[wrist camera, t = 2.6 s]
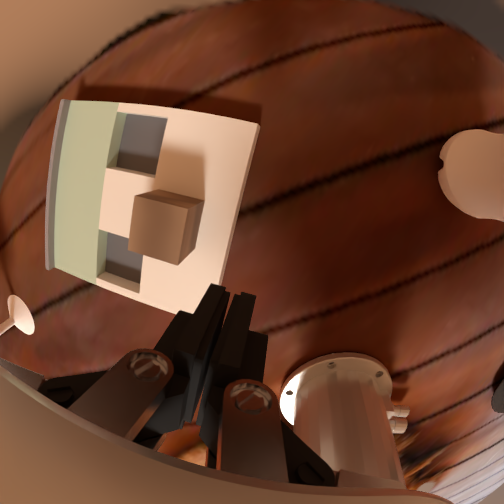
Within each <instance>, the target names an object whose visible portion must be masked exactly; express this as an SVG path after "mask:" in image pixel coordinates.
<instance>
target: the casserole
mask: <svg viewBox="0 0 504 504" xmlns="http://www.w3.org/2000/svg"><path fill="white" fill-rule="evenodd" d="M491 404H492V408H493V410H494V411H495V412H498V413H504V379H503V380H502V381H501V383H500V384H499V385H498V387H497V388H496V390H495V392H494V394H493V396H492V401H491Z"/></svg>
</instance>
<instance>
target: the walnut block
mask: <svg viewBox="0 0 504 504" xmlns="http://www.w3.org/2000/svg"><path fill="white" fill-rule="evenodd" d="M204 203H205V200H201V199H197V198H193V197H189V196H185V195H181V194H177V193H172V192H168V191H164V190H160V189H157V190H153V191H150V192H146V193H142V194H138V195H135V196H134V203H133V209H132V217H131V225H130V233H129V242H128V250H129V251H132V252H135V253H139V254H142V255H145V256H148V257H151V258H154V259H158V260H161V261H164V262H167V263H170V264H174V265H177V266H178V265H179V264H180V263H181V262H182V261H183V260H184V259H185V258H186V257H187V256H188V255H189V254H190V253H191V252H192V251H193V250H194V249H195V246H196V241H197V236H198V231H199V226H200V222H201V217H202V212H203V207H204Z"/></svg>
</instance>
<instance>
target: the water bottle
mask: <svg viewBox="0 0 504 504" xmlns="http://www.w3.org/2000/svg"><path fill="white" fill-rule="evenodd" d="M439 157H440V159H442V160H443V162H444V166H443V168H442V169H441V170H439V171H438V181H439V184H440V187H441V189H442V191H443V193H444V195H445V196H446V197H447V199H448V200H449V201H450V202H451V203H452V204H453V205H454V206H456V207H457V208H458V209H460V210H461V211H463V212H464V213H466V214H468V215H470V216H473V217H476V218H479V219H486V218H487V219H495V220H499V221H502V222H504V134H496V133H492V132H489V131H486V130H481V129H474V130H466V131H462V132H459V133H457V134H455V135H454V136H452V137H451V138H450V139H449V140H448V141H447V142H446V143H445V144H444V145H443V147H442V149H441V151H440V156H439Z"/></svg>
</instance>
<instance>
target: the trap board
mask: <svg viewBox="0 0 504 504" xmlns="http://www.w3.org/2000/svg"><path fill="white" fill-rule="evenodd" d="M259 131H260V126H259V124H257V123H252V122H248V121H243V120H239V119H234V118H229V117H224V116H219V115H213V114H207V113H202V112H196V111H189V110H183V109H176V108H168V107H160V106H152V105H142V104H131V103H119V102H102V101H71V100H65V99H61V102H60V106H59V111H58V116H57V121H56V126H55V131H54V137H53V143H52V150H51V157H50V164H49V173H48V183H47V196H46V216H45V259H46V269H47V270H50V269H52V268H54V267H56V268H58V269H60V270H62V271H65V272H67V273H69V274H72V275H74V276H76V277H79V278H81V279H83V280H86V281H88V282H91V283H93V284H96V285H98V286H101V287H103V288H106V289H108V290H111V291H113V292H116V293H118V294H121V295H124V296H126V297H129V298H132V299H134V300H137V301H140V302H142V303H145V304H148V305H151V306H154V307H157V308H159V309H162V310H165V311H168V312H171V313H174V314H177V313H178V311H179V310H182V311H185V312H188V313H192V314H193V313H194V312H195V310H196V308H197V306H198V305H199V303H200V301H201V299H202V298H203V296H204V294H205V292H206V291H207V289H208V287H209V285H210V284H211V283H213V284H216V285H220V286H221V284H222V279H223V275H224V271H225V267H226V262H227V258H228V254H229V250H230V246H231V241H232V237H233V233H234V229H235V225H236V221H237V217H238V213H239V209H240V205H241V201H242V197H243V193H244V189H245V185H246V181H247V177H248V173H249V169H250V165H251V161H252V157H253V153H254V150H255V146H256V142H257V138H258V134H259ZM157 189H160V190H164V191H168V192H172V193H177V194H181V195H185V196H189V197H193V198H197V199H201V200H205V203H204V207H203V212H202V217H201V222H200V226H199V231H198V236H197V241H196V246H195V249H194V250H193V251H192V252H191V253H190V254H189V255H188V256H187V257H186V258H185V259H184V260H183V261H182V262H181V263H180V264H179V265H178V266H177V265H174V264H170V263H167V262H164V261H161V260H158V259H154V258H151V257H148V256H145V255H142V254H139V253H135V252H132V251H129V250H128V242H129V233H130V225H131V217H132V209H133V203H134V196H135V195H138V194H142V193H146V192H150V191H153V190H157Z"/></svg>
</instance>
